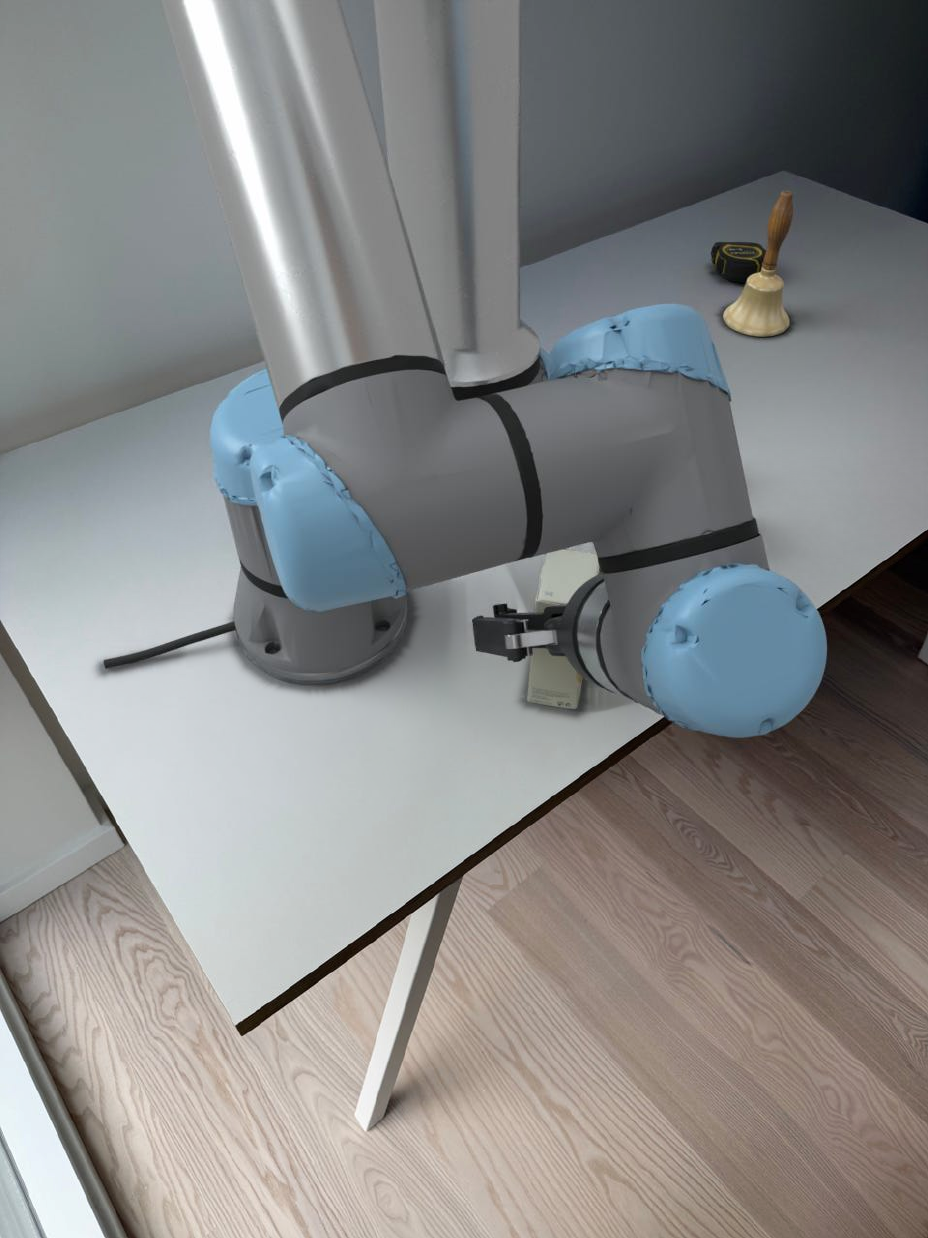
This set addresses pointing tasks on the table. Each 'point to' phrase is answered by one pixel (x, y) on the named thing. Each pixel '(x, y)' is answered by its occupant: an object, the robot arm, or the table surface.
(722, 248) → the tape measure
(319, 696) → the table surface
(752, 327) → the hand bell
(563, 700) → the cosmetic box
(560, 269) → the table surface
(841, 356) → the table surface
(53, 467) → the table surface
